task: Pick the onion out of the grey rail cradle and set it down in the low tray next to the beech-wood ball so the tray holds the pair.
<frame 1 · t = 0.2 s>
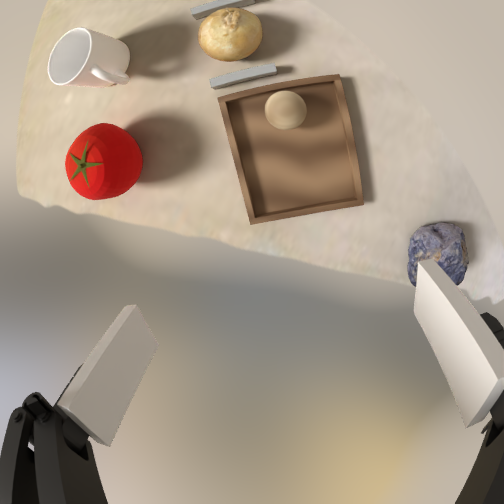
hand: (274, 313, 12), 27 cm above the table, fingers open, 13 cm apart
cup: (117, 68, 30), on the table
rock: (431, 245, 37), on the table
tray: (294, 147, 34), on the table
ball: (285, 111, 32), resting on tray
cradle: (234, 39, 28), on the table
tomato: (124, 156, 37), on the table
onion: (234, 40, 28), on the table
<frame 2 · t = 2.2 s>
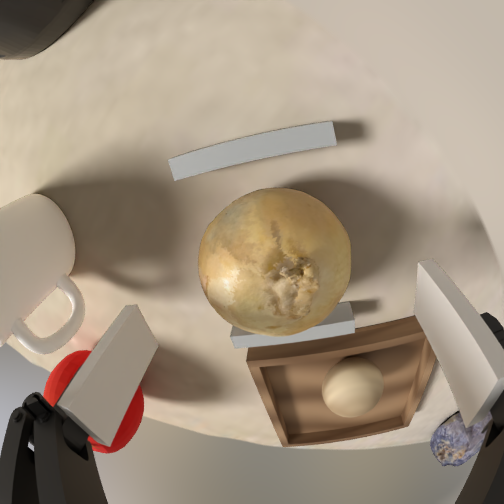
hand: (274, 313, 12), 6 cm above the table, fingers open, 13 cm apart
cup: (60, 248, 19), on the table
rock: (460, 416, 27), on the table
tray: (347, 391, 23), on the table
ball: (348, 364, 21), resting on tray
cradle: (276, 242, 17), on the table
tomato: (113, 366, 26), on the table
onion: (276, 240, 17), on the table
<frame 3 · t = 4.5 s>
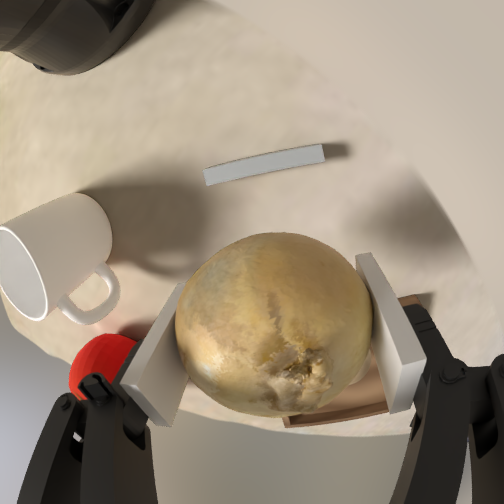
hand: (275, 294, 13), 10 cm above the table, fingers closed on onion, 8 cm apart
cup: (96, 241, 25), on the table
tray: (342, 370, 28), on the table
ball: (341, 342, 25), resting on tray
cradle: (281, 235, 22), on the table
tomato: (134, 351, 30), on the table
onion: (276, 290, 14), point 9 cm above the table, touching gripper
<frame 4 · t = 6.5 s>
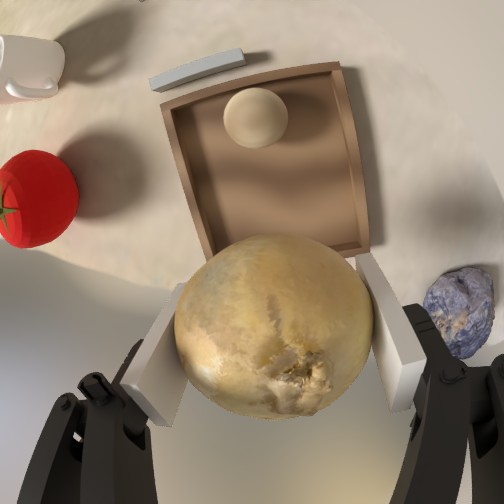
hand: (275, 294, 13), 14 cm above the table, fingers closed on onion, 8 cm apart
cup: (52, 76, 21), on the table
rock: (451, 293, 28), on the table
tray: (271, 172, 24), on the table
ball: (258, 119, 22), resting on tray
cradle: (187, 21, 18), on the table
tomato: (63, 186, 27), on the table
onion: (276, 291, 14), point 13 cm above the table, touching gripper
when the fingers open (2 cm above the table, at t = 8.6 s): onion stays where it is, resting on tray.
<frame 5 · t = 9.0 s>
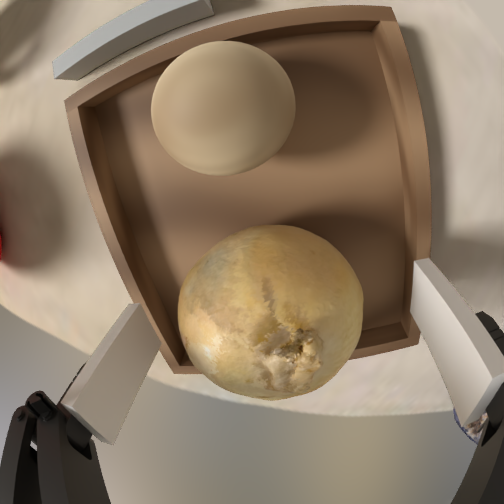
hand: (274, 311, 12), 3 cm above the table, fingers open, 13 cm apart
rock: (496, 360, 17), on the table
tray: (262, 213, 13), on the table
ball: (235, 111, 11), resting on tray
onion: (274, 280, 14), resting on tray
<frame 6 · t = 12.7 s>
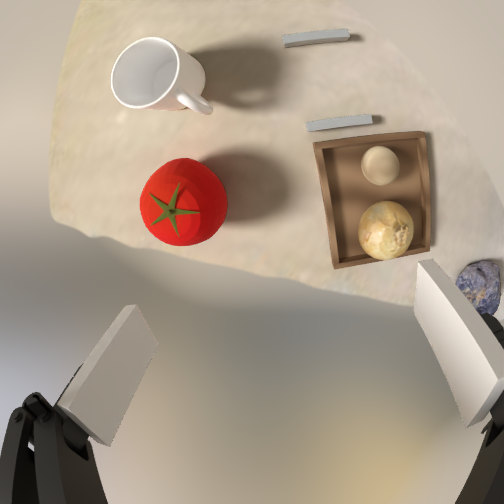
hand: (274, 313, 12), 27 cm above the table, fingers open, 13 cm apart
cup: (187, 90, 31), on the table
rock: (472, 279, 38), on the table
tray: (377, 197, 35), on the table
ball: (374, 163, 32), resting on tray
cradle: (326, 79, 29), on the table
tomato: (197, 192, 37), on the table
onion: (378, 222, 36), resting on tray
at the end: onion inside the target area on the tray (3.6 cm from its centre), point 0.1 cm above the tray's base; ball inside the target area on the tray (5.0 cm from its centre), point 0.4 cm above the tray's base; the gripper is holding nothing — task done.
